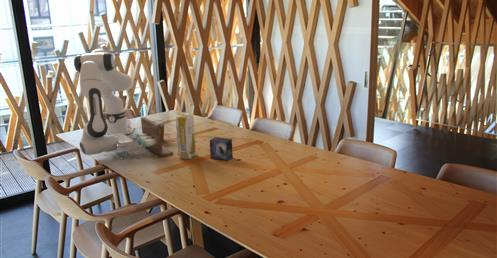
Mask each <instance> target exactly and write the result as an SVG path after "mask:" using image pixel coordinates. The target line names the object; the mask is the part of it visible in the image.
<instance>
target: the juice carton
mask: <svg viewBox="0 0 497 258" xmlns="http://www.w3.org/2000/svg"><path fill="white" fill-rule="evenodd" d="M194 120H195V119H194V115H193V114H192V113H191V114H190V113H187V112H186V113H184V114H183V113H182V114H180V115H179V116H177V117H176V118H175V128H176V129H175V130H176V142H177V152H178V157H179V159H181V160H183V159H184V160H191V159H192V158H193V157H194V156H196V136H195V124H194V123H195V121H194Z"/></svg>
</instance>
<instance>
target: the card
mask: <svg viewBox="0 0 497 258" xmlns="http://www.w3.org/2000/svg"><path fill="white" fill-rule="evenodd" d="M115 155H116V156H118V157H119V158H121V160H125V159H130V158H134V155H133V154H131V153H130V152H129V151H127V150H122V151H116V152H115Z"/></svg>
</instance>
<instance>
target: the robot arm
mask: <svg viewBox="0 0 497 258" xmlns="http://www.w3.org/2000/svg"><path fill="white" fill-rule="evenodd" d="M73 65H74V69H75V70H76V71H77V72H78V73H79V86H80V91H81V95H83V96H84V97H85V98H86V99H87V102H88V107H89V120H88V121H87V122H86V123H85V124H84V126H83V129H82V135H81V139H80V141H79V147H80V150H81V152H82V153H83V154H85V155H87V156H89V155H90V156H92V155H98V154H102V153H108V152H112V151H113V152H114V151H117V150H118V148H119V149H123V150H124V149H129V148H133V147H135V141H136V140H137V137H136V136H135V135H133V136H127V135H128V134H132V133H133V131H134V129H135V128H136V127H135V126H133V125H132V124H131V120H130V119H129V118H128V117H127V116H126V114H127V110H124V109H125V108H124V101H123V100H122V98H121V97H119V96H116V95H115V94H114V93H113V92H125V91H129V90H130V89H131V88H132V86H133V79H132V77H131V76H130V75H129V74H127V73H123V72H122V71H120V70H118V69H117V68H116V67H115V65H116V60H115V57H114V55H113V54H112V53H110V52H106V51H105V50H104V49H101V48H97V49H94V50H92V51H91V52H90V53H85V54H82V53H81V54H77V55H76V56H75V57H74V60H73ZM102 100H103V101H102ZM103 103H104V107H105V117H104V111H103ZM105 119H106V120H105Z"/></svg>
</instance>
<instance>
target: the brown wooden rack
mask: <svg viewBox="0 0 497 258" xmlns="http://www.w3.org/2000/svg"><path fill="white" fill-rule="evenodd" d="M153 121H154V120H151V119H149V118H147V117H145V116H144V117H140V123H141V132H142V133H141V134H143V133H147V136H151V137H152V139H154V138H156V140H157V145H153V146H148V147H146V148H144V150H147V151H148V152H149V153H151V154H153V155H154V156H155V157H158V158H159V159H160V158H165V157H169V156H173V155H174V152H173V151H172V150H170V149H168V148H166V147H165V146H163V141H161V129H160V125H159V124H157V123H155V122H153Z"/></svg>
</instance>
